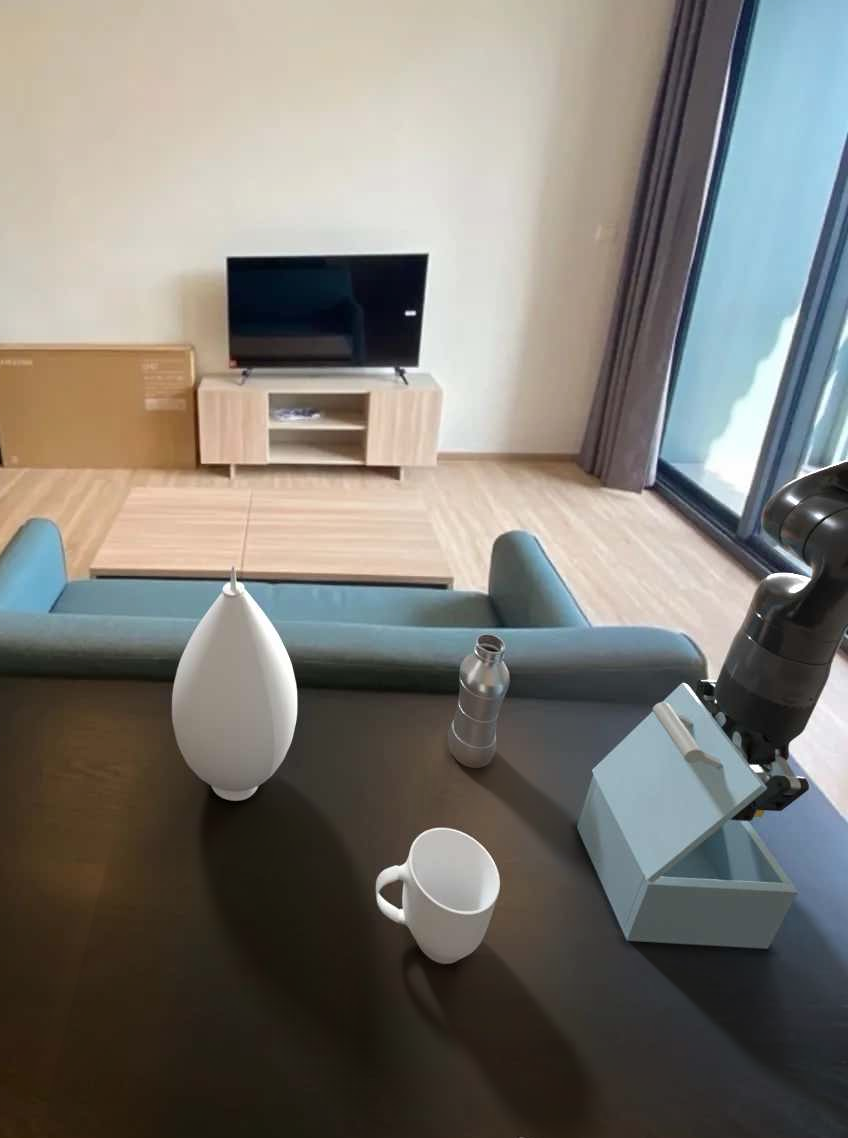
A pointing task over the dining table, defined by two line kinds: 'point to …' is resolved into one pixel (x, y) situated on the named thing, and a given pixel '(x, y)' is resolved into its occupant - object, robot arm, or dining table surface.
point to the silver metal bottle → (479, 702)
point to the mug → (444, 893)
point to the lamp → (234, 696)
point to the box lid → (675, 782)
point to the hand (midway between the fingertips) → (720, 794)
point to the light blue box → (690, 885)
